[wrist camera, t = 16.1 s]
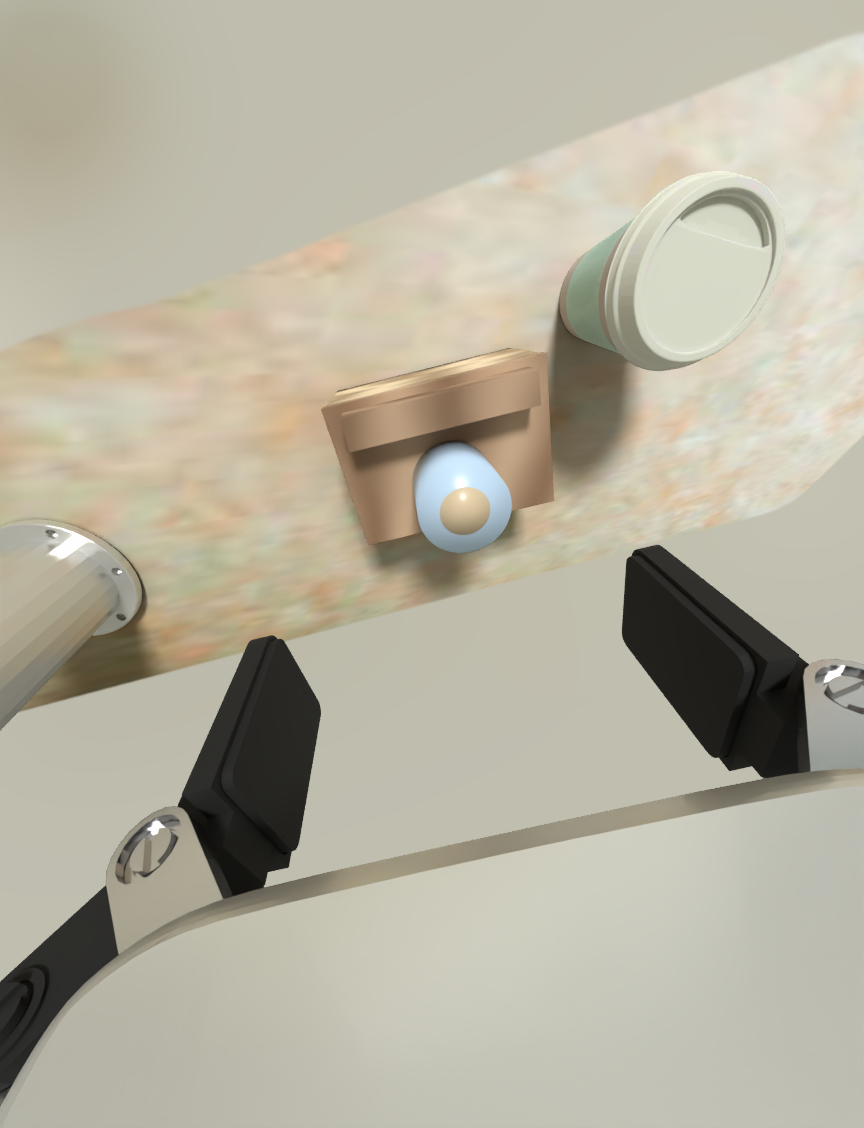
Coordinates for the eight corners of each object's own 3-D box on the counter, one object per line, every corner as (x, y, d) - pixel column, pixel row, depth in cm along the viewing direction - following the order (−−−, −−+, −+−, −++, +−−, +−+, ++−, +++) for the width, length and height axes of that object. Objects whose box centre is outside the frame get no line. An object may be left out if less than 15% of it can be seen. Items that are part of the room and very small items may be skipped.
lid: (368, 540, 30) (367, 558, 28) (322, 407, 25) (316, 415, 23) (550, 496, 30) (564, 511, 27) (542, 352, 25) (558, 354, 22)
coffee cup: (672, 293, 30) (821, 274, 20) (583, 383, 32) (672, 408, 22) (613, 187, 26) (757, 96, 16) (518, 298, 29) (590, 282, 19)
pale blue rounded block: (403, 451, 26) (407, 478, 21) (484, 431, 26) (506, 454, 21) (421, 524, 29) (428, 562, 24) (495, 507, 29) (516, 541, 24)
